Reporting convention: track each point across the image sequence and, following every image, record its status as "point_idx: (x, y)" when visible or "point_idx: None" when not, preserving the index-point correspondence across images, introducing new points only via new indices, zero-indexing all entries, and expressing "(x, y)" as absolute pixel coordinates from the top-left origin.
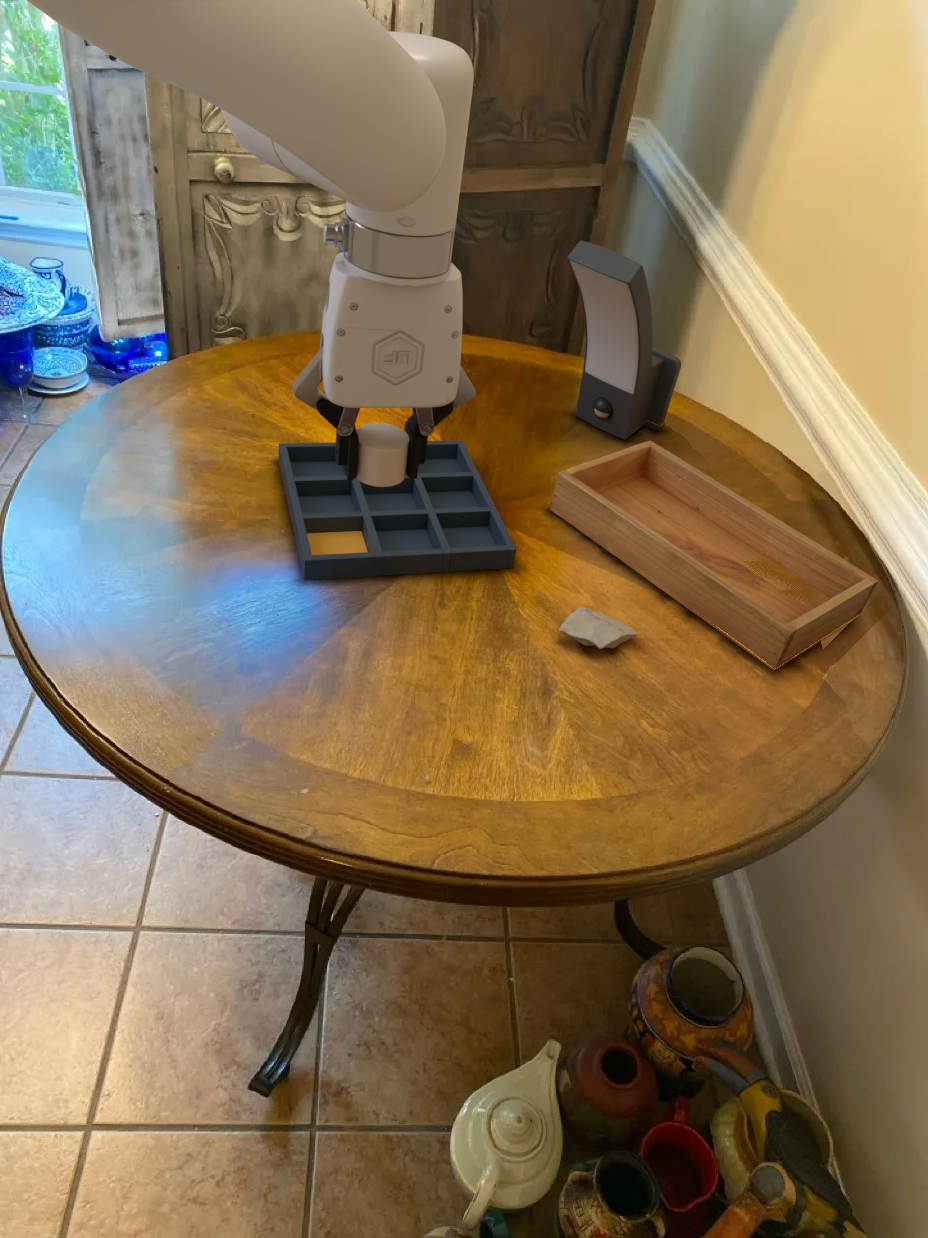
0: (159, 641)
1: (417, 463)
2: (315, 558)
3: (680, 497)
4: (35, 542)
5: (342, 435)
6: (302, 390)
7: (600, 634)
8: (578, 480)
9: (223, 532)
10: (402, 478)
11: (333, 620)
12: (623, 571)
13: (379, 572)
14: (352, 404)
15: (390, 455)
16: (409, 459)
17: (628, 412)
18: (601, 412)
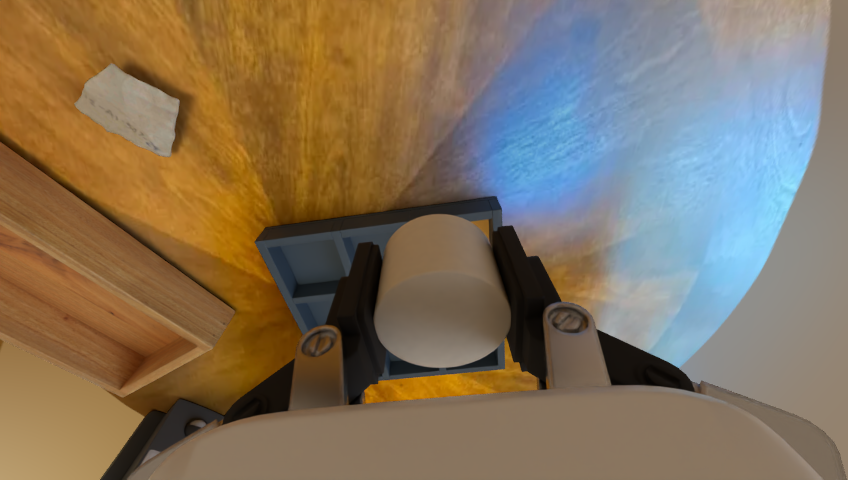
0: (678, 83)
1: (355, 264)
2: (489, 213)
3: (91, 332)
4: (753, 238)
5: (568, 303)
6: (800, 448)
7: (114, 86)
8: (185, 338)
9: (567, 262)
10: (390, 240)
11: (470, 130)
12: (137, 229)
13: (413, 210)
14: (639, 397)
15: (424, 263)
16: (374, 274)
17: (164, 427)
18: (197, 425)
